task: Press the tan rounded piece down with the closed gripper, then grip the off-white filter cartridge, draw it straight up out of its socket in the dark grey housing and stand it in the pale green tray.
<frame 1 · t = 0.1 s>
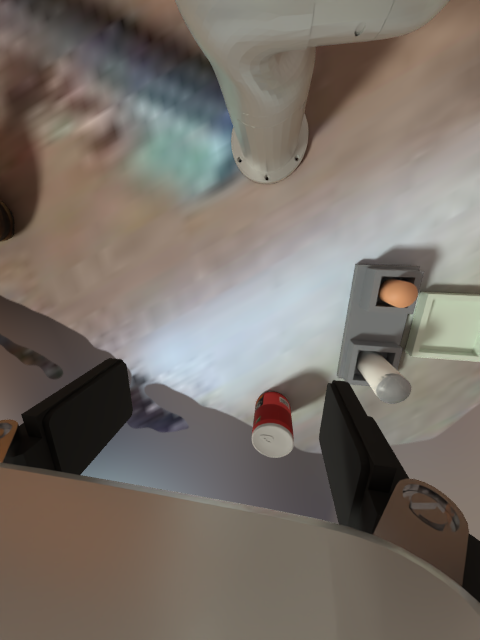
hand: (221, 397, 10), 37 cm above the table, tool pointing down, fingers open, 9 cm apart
tan rounded piece: (396, 292, 36), point 6 cm above the table, slide at 0.0 cm
tray: (447, 324, 42), on the table
housing: (372, 325, 44), on the table
canned food: (272, 404, 53), on the table
cartridge: (368, 360, 45), point 1 cm above the table, touching housing
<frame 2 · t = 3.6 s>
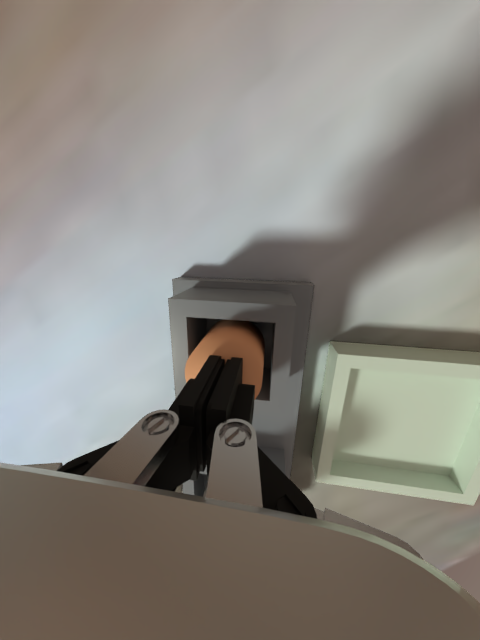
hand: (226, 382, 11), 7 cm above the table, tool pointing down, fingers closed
tan rounded piece: (229, 359, 13), point 5 cm above the table, slide at 0.6 cm, touching gripper
tray: (394, 413, 19), on the table
housing: (239, 405, 21), on the table
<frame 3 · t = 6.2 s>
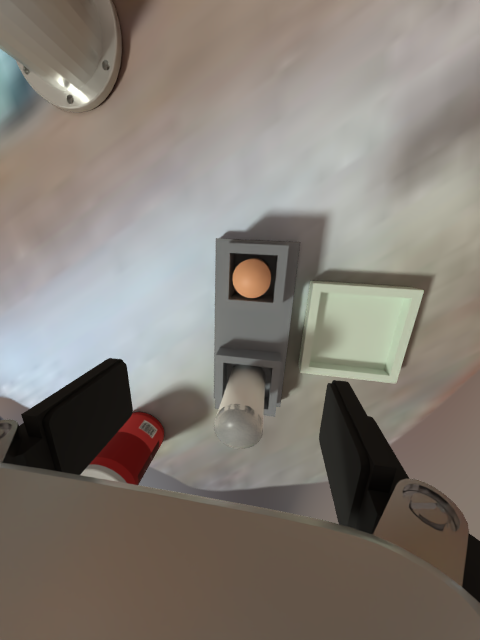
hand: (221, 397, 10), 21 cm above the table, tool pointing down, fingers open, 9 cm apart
tan rounded piece: (253, 276, 25), point 4 cm above the table, slide at 1.8 cm
tray: (350, 329, 30), on the table
housing: (252, 327, 31), on the table
canned food: (145, 427, 40), on the table
cartridge: (248, 376, 32), point 2 cm above the table, touching housing
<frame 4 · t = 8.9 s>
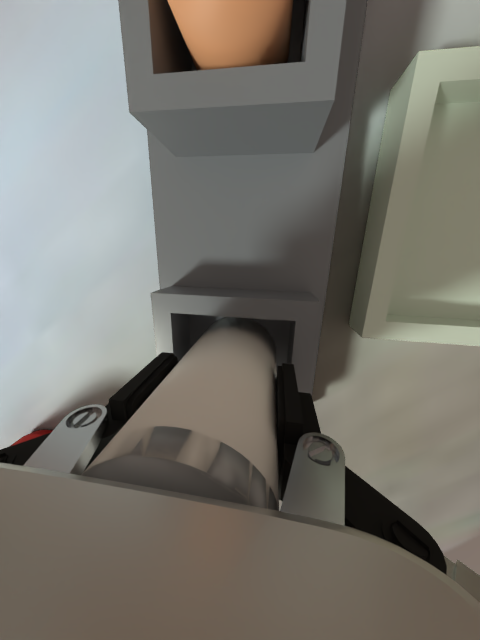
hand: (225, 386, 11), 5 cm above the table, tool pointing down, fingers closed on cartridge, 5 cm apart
tan rounded piece: (234, 4, 8), point 4 cm above the table, slide at 1.8 cm
housing: (243, 240, 14), on the table
cartridge: (237, 353, 15), point 1 cm above the table, touching gripper, housing
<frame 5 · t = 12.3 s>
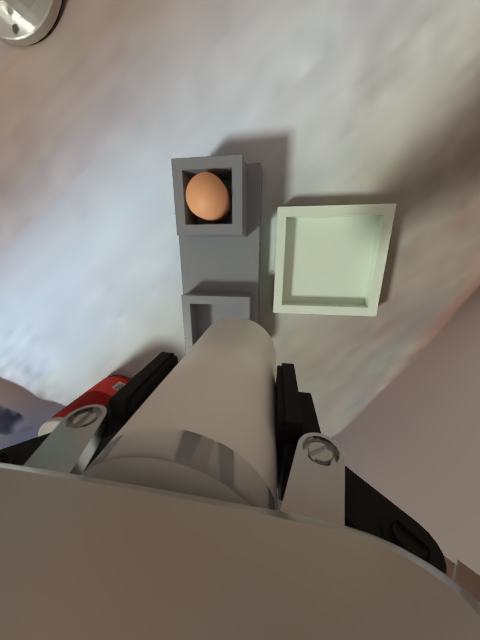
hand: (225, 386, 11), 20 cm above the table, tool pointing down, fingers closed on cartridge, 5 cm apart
tan rounded piece: (211, 200, 24), point 4 cm above the table, slide at 1.8 cm
tray: (324, 262, 28), on the table
housing: (221, 269, 30), on the table
canned food: (123, 393, 39), on the table
cartridge: (236, 353, 15), point 17 cm above the table, touching gripper
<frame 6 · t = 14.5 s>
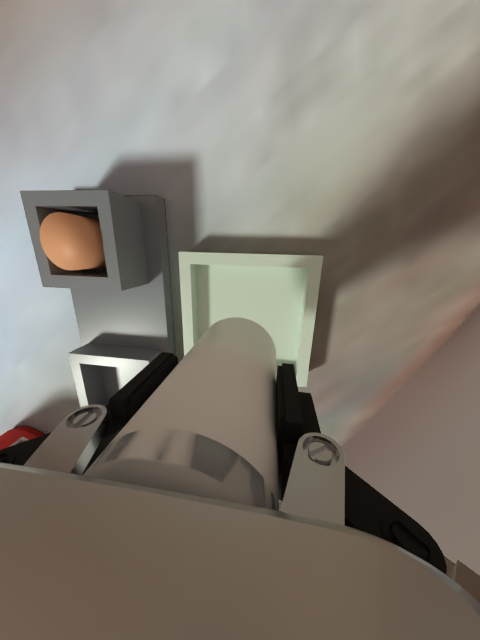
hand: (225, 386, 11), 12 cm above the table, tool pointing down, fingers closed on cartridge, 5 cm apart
tan rounded piece: (86, 243, 18), point 4 cm above the table, slide at 1.8 cm
tray: (248, 315, 22), on the table
housing: (129, 317, 24), on the table
canned food: (35, 444, 33), on the table
cartridge: (237, 354, 15), point 8 cm above the table, touching gripper
when the fingers open (6 cm above the table, at t = 16.0 s): cartridge drops 1 cm, resting on tray.
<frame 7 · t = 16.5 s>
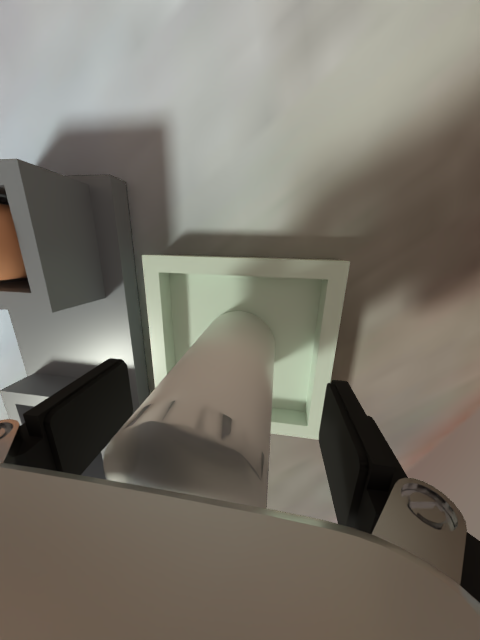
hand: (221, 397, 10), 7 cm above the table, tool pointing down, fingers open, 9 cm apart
tan rounded piece: (5, 242, 13), point 4 cm above the table, slide at 1.8 cm
tray: (242, 340, 17), on the table
housing: (87, 339, 19), on the table
cartridge: (239, 344, 16), point 1 cm above the table, touching tray
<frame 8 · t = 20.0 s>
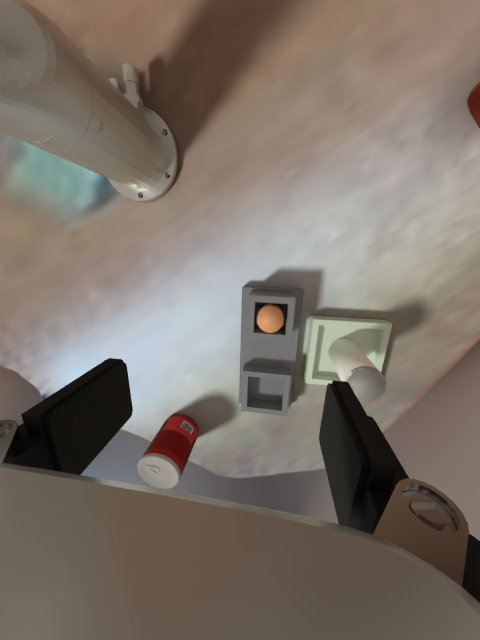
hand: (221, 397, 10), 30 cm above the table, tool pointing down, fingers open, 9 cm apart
tan rounded piece: (270, 316, 36), point 4 cm above the table, slide at 1.8 cm
tray: (342, 349, 40), on the table
housing: (268, 348, 42), on the table
canned food: (182, 426, 51), on the table
cartridge: (343, 351, 39), point 1 cm above the table, touching tray
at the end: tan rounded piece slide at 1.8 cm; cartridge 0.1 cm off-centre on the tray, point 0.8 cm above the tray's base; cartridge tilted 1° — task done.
